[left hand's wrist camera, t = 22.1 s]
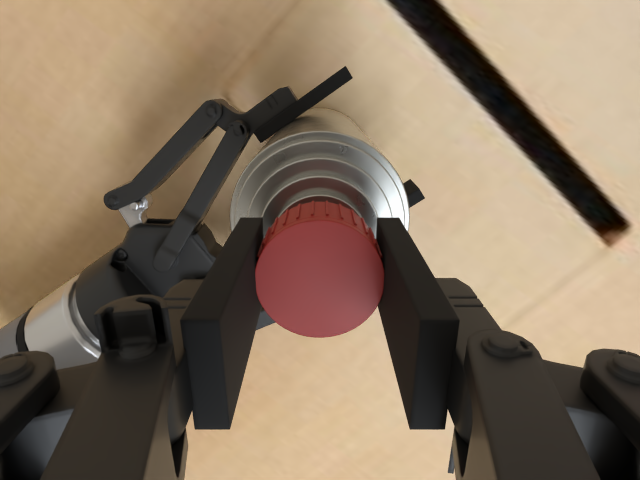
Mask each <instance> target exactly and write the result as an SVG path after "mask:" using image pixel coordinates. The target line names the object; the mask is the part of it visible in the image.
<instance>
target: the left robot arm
mask: <svg viewBox="0 0 640 480" xmlns="http://www.w3.org/2000/svg"><path fill="white" fill-rule="evenodd" d="M263 238H264V233H263V217H240V219H239V221H238V223H237V224H236V226H235V228H234V229H233V231H232V233H231V234H230V236H229V238H228V239H227V241H226V243H225V245H224V246H223V248H222V250H221V251H220V253H219V255H218V256H217V258H216V260H215V262H214V263H213V265H212V267H211V268H210V270H209V272H208V273H207V275H206V277H205V278H204V279H191V280H182V281H181V282H179V283H178V284H176V285H174V286H173V287H171V288H170V289H169V290H168V292H167V293H166V295H165V296H164V297H163V298H162V297H159V296H154V295H134V296H128V297H123V298H120V299H117V300H114V301H111V302H109V303H108V304H106V305H104V306H102V307H100V308H99V309H98V310H97V311H96V312H95V313H94V314H93V316H94V321H95V325H96V330H97V334H98V339H99V343H100V348H101V354H100V356H99V358H98V360H97V361H96V362H93V363H89V364H84V365H79V366H74V367H69V368H63V369H58V370H57V369H56V365H55V361H54V358H53V357H52V356H51V355H50V354H49V353H47V352H42V351H26V352H17V353H14V354H9V355H6V356H3V357H2V358H0V480H184V476H185V468H186V460H187V451H188V441H187V434H186V425H187V422H188V419H189V417H190V414H191V412H193V419H194V426H195V429H230V427H231V423H232V419H233V415H234V412H235V408H236V404H237V400H238V396H239V392H240V388H241V385H242V381H243V377H244V373H245V369H246V365H247V361H248V358H249V354H250V350H251V346H252V342H253V338H254V334H255V331H256V327H257V323H258V319H259V315H260V311H261V307H262V305H261V303H260V301H259V299H258V296H257V293H256V278H255V268H256V264H257V260H258V257H257V254H258V251H259V249H260V246H261V243H262V241H263ZM376 240H377V242H378V245H379V248H380V251H381V253H382V256H383V258H381V260H382V262H383V267H384V289H383V294H382V297H381V300H380V302H379V304H378V308H379V312H380V316H381V320H382V324H383V328H384V332H385V335H386V339H387V343H388V347H389V351H390V355H391V359H392V362H393V366H394V370H395V374H396V378H397V382H398V386H399V389H400V393H401V397H402V401H403V405H404V409H405V413H406V416H407V420H408V424H409V428H410V429H445V424H446V417H447V410H449V413H450V416H451V418H452V421H453V423H454V426H455V427H454V434H453V441H452V447H451V454H450V461H449V468H448V473H454V467H455V475H456V480H640V356H639V355H637V354H634V353H631V352H626V351H623V350H614V349H599V350H593V351H592V352H590V353H589V354H588V355H587V356H586V360H585V364H584V367H583V368H581V367H576V366H571V365H565V364H560V363H555V362H551V361H547V360H543V359H542V357H541V355H540V353H539V351H538V350H537V349H536V348H535V346H534V345H533V344H532V343H530V342H529V341H527V340H526V339H524V338H523V337H521V336H518V335H516V334H513V333H511V332H507V331H502V330H501V329H500V327H499V326H498V324H497V323H496V322H495V320H494V319H493V318H492V316H491V315H490V314H489V312H488V311H487V309H486V308H485V307H483V304H482V303H481V301H480V300H479V299H477V296H476V295H475V293H474V292H473V290H472V289H471V288H470V287H469V286H468V285H466V284H465V283H463V282H461V281H460V280H458V279H457V278H435V277H434V276H433V274H432V272H431V270H430V269H429V267H428V265H427V264H426V262H425V260H424V259H423V257H422V255H421V254H420V252H419V250H418V248H417V247H416V245H415V243H414V242H413V240H412V238H411V237H410V235H409V233H408V231H407V230H406V228H405V226H404V225H403V223H402V221H401V220H400V218H399V217H377V228H376Z"/></svg>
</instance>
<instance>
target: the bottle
mask: <svg viewBox="0 0 640 480" xmlns="http://www.w3.org/2000/svg"><path fill="white" fill-rule="evenodd" d="M312 201H314V202H325V201H328V202H329V203H334V204H338V205H339V204H341V205H342V206H343V207H346V208H348V209H349V210H351V209H352V210H354V213H356V214H357V215H358V216H359V217H360V218H362V217H363V218H364V221H365V223H366V224H367V226H368V227H369V228H370V227H371V229H372V231H373V234H374V237H375V239H376V228H377V217H399V218H400V220H401V221H402V223H403V225H404V226H405V228H406V230H407V231H408V230H409V220H410V214H409V203H408V198H407V194H406V191H405V188H404V185H403V183H402V181H401V179H400V177H399V175H398V173H397V172H396V170H395V169H394V167H393V166H392V165H391V163H390V162H389V161H388V160H387V159H386V158H385V157H384V155H383V154H382V153H381V152H380V151H379V150H378V149H377V147H376V146H375V145H374V144H373V143H372V142H371V141H370V140H369V138H368V137H367V136H366V135H365V134H364V133H363V132H362V130H361V129H360V128H359V127H358V126H357V125H356V124H355V123H354V122H353V121H352V120H351V119H350V118H349V117H347V116H346V115H344V114H342V113H340V112H338V111H335V110H332V109H327V108H313V109H308V110H307V111H305V112H304V113H303V114H301V115H300V116H298V117H297V118H296V119H294V120H293V121H291V122H290V123H289V124H287V125H286V126H284V127H283V128H281V129H280V130H279V131H277V132H276V134H275V135H274V136H273V137H272V138H271V139H270V140H269V141H268V142H267V144H266V145H265V146H264V147H263V148H262V149H261V150H260V151H259V153H258V154H257V155H256V156H255V157H254V158H253V159H252V160H251V162H250V163H249V164H248V165H247V167H246V168H245V170H244V171H243V172H242V174H241V176H240V178H239V180H238V182H237V184H236V187H235V189H234V192H233V196H232V201H231V206H230V226H231V232H232V231H233V229H234V228H235V226H236V224H237V223H238V221H239V219H240V217H263V233H264V238H265V235H266V232H267V230H268V228H269V227H270V228H271V226H272V225H273V223H274V222H275V219H276V218H277V217H278V218H279V217H280V216H281V215H282V214H284V213H285V212H286V210H287V209H288V210H290V209H292V208H293V207H296V206H298V204H300V203H301V204H305V203H309V202H312Z"/></svg>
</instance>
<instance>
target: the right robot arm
mask: <svg viewBox="0 0 640 480" xmlns="http://www.w3.org/2000/svg"><path fill="white" fill-rule="evenodd" d="M351 79H352V76H351V74H350V73H349V71H348V69H347V68H346V66H345V67H344V68H342V69H341V70H339V71H338V72H337V73H335V74H334V75H332V76H331V77H330V78H328V79H327V80H325V81H324V82H323V83H321V84H320V85H318V86H317V87H316V88H314V89H313V90H311V91H310V92H309V93H307V94H306V95H305V96H303V97H302V98H300V99H299V100H298V99H297V97H296V96H295V94H294V93H293V91H292V90H291V88H290V87H284V88H280V89H278V90H276V91H275V92H274V93H272V94H271V95H270V96H268V97H267V98H265V99H264V100H263V101H261V102H260V103H259V104H257V105H256V106H255V107H253V108H252V109H250V110H249V111H248V112H246V113H243V112H239V111H237V110H236V109H234V108H233V107H231V106H230V105H229V104H228V103H227V102H226V101H225V100H223V99H214V100H209V101H206V102H205V103H203V104H202V105H201V107H200V108H199V109H198V110H197V111H196V112H195V113H194V114H193V115H192V116H191V117H190V118H189V120H188V121H187V122H186V123H185V124H184V125H183V126H182V127H181V128H180V129H179V130H178V131H177V133H176V134H175V135H174V136H173V137H172V138H171V139H170V140H169V141H168V142H167V143H166V144H165V146H164V147H163V148H162V149H161V150H160V151H159V152H158V153H157V154H156V155H155V156H154V157H153V159H152V160H151V161H150V162H149V163H148V164H147V165H146V166H145V167H144V168H143V169H142V170H141V172H140V173H139V174H138V175H137V176H136V177H135V178H134V179H133V180H132V181H130V182H128V183H125V184H123V185H121V186H119V187H118V188H116V189H114V190H112V191H110V192H108V193H107V194H105V196H104V203H105V205H106V206H107V207H108V208H110V209H112V210H119V212H120V213H121V215H122V216H123V218H124V220H125V221H126V223H127V224H128V226H129V228H130V229H129V230H128V232H127V234H126V237H125V239H124V241H123V242H122V243H121V244H119V245H118V246H117V247H115V248H114V249H112V250H111V251H109V252H108V253H107V254H105V255H104V256H102V257H101V258H100V259H98V260H97V261H95V262H94V263H93V264H91V265H90V266H88V267H87V268H85V269H84V270H83V271H82V272H81V274H77V275H76V276H74V277H73V278H72V279H70V280H69V281H67V282H66V283H64V284H63V285H62V286H60V287H59V288H57V289H56V290H54V291H53V292H52V293H50V294H49V295H47V296H46V297H44V298H43V299H42V300H40V301H39V302H37V303H36V304H35V305H34V306H33V307H31V308H30V309H29V310H28V311H27V312H25V313H24V314H22V315H21V316H19V317H18V318H16V319H15V320H13V321H12V322H10V323H9V324H7V325H6V326H4V327H3V328H1V329H0V358H2V357H3V356H6V355H9V354H14V353H17V352H26V351H42V352H47V353H49V354H50V355H51V356H52V357H53V358H54V361H55V365H56V369H57V370H58V369H63V368H69V367H74V366H79V365H84V364H89V363H93V362H96V361H97V360H98V358H99V356H100V354H101V348H100V343H99V339H98V334H97V330H96V325H95V321H94V316H93V314H94V313H95V312H96V311H97V310H98V309H99V308H100V307H102V306H104V305H106V304H108V303H109V302H111V301H114V300H117V299H120V298H123V297H128V296H134V295H154V296H159V297H162V298H163V297H164V296H165V295H166V293H167V292H168V290H169V289H170V288H171V287H173V286H174V285H176V284H178V283H179V282H181V281H182V280H191V279H204V278H205V277H206V275H207V273H208V272H209V270H210V268H211V267H212V265H213V263H214V262H215V260H216V258H217V256H218V255H219V253H220V251H221V250H222V248H223V247H222V246H221V245H219V244H218V243H217V242H216V241H215V238H214V236H213V234H212V232H211V231H210V229H209V228H208V227H207V226H206V224H203V225H201V223H202V221H203V219H204V218H205V216H206V214H207V212H208V211H209V208H210V206H211V205H212V203H213V201H214V199H215V198H216V196H217V194H218V192H219V191H220V189H221V187H222V186H223V184H224V182H225V180H226V179H227V177H228V175H229V174H230V172H231V170H232V168H233V167H234V165H235V163H236V162H237V160H238V158H239V156H240V155H241V153H242V151H243V150H244V148H245V146H246V144H247V143H248V141H249V139H250V137H251V136H252V134H253V133H254V134H255V136H256V137H257V138H258V140H259V141H260V143H262V142H263V141H265V140H266V139H267V138H269V137H270V136H272V135H273V134H274V133H276V132H277V131H279V130H280V129H281V128H283V127H284V126H286V125H287V124H289V123H290V122H291V121H293V120H294V119H296V118H297V117H298V116H300V115H301V114H303V113H304V112H305V111H307V110H308V109H310V108H311V107H313V106H314V105H315V104H317V103H318V102H320V101H321V100H322V99H324V98H325V97H327V96H328V95H329V94H331V93H332V92H334V91H335V90H336V89H338V88H339V87H341V86H342V85H344V84H345V83H346V82H348V81H349V80H351ZM217 126H219V127H221V128H222V129H223V130H225V131H226V133H225V135H224V137H223V139H222V140H221V142H220V144H219V146H218V148H217V149H216V151H215V153H214V155H213V156H212V158H211V160H210V162H209V164H208V165H207V167H206V169H205V171H204V173H203V174H202V176H201V178H200V180H199V181H198V183H197V185H196V187H195V189H194V190H193V192H192V194H191V196H190V198H189V199H188V201H187V203H186V205H185V207H184V208H183V210H182V211H181V212H180V214H179V215H178V217H177V219H148V218H147V216H146V210H147V209H148V208H149V207H150V206H151V205H152V203H153V198H152V195H151V194H150V193H151V192H152V191H154V190H155V189H157V188H158V187H160V186H161V185H162V184H163V183H164V182H165V181H166V180H167V179H168V178H169V177H170V176H171V175H172V174H173V173H174V171H175V170H176V169H177V168H178V167H179V166H180V165H181V164H182V163H183V162H184V161H185V160H186V159H187V158H188V157H189V156H190V155H191V154H192V153H193V152H194V150H195V149H196V148H197V147H198V146H199V145H200V144H201V143H202V142H203V141H204V140H205V139H206V138H207V137H208V136H209V135H210V134H211V133H212V132H213V131H214V129H215V128H216V127H217ZM403 185H404V188H405V191H406V194H407V198H408V203H409V208H410V207H412V206H413V205H415V204H416V203H418V202H420V201H421V200H423V199H425V197H424V196H423V194H422V192H421V191H420V189H419V188H418V187H417V186H416V185H415V184H414V183H413V181H412V180H411V179H410V180H408V181H407V182H405V183H403ZM272 323H275V321H274V320H273V319H272V318H271V317H270V316H269V315H268V314H267V313H266V311H265V310H264V308H263V307H261V311H260V315H259V319H258V323H257V327H256V330H258V329H260V328H263V327H265V326H268V325H270V324H272Z"/></svg>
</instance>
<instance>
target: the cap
mask: <svg viewBox="0 0 640 480" xmlns="http://www.w3.org/2000/svg"><path fill="white" fill-rule="evenodd" d="M257 257H258V260H257V264H256V268H255V278H256V293H257V296H258V299H259V301H260V303H261V305H262V307H263V308H264V310H265V311H266V313H267V314H268V315H269V316H270V317H271V318H272V319H273V320H274V321H275V322H276V323H277V324H279V325H280V326H282V327H283V328H285V329H287V330H289V331H291V332H293V333H296V334H299V335H303V336H308V337H332V336H336V335H340V334H343V333H346V332H348V331H350V330H352V329H354V328H356V327H357V326H359V325H361V324H362V323H363V322H364V321H365V320H367V319H368V317H369V316H370V315H371V314H372V313H373V312H374V310H375V309H376V307H377V306H378V304H379V302H380V300H381V297H382V294H383V289H384V267H383V262H382V260H381V258H383V256H382V253H381V251H380V248H379V245H378V242H377V240H376V239H375V237H374V234H373V231H372V229H371V227H370V228H369V227H368V226H367V224H366V223H365V221H364V218H363V217H362V218H360V217H359V216H358V215H357V214H356V213H354V210H352V209H351V210H349V209H348V208H346V207H343V206H342V205H341V204H339V205H338V204H334V203H329V202H328V201H325V202H314V201H312V202H309V203H305V204H301V203H300V204H298V206H296V207H293V208H292V209H290V210H288V209H287V210H286V212H285V213H284V214H282V215H281V216H280V217H279V218H278V217H277V218H276V219H275V222H274V223H273V225H272V226H271V228H270V227H269V228H268V230H267V232H266V235H265V238H263V241H262V243H261V246H260V249H259V251H258V254H257Z"/></svg>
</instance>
